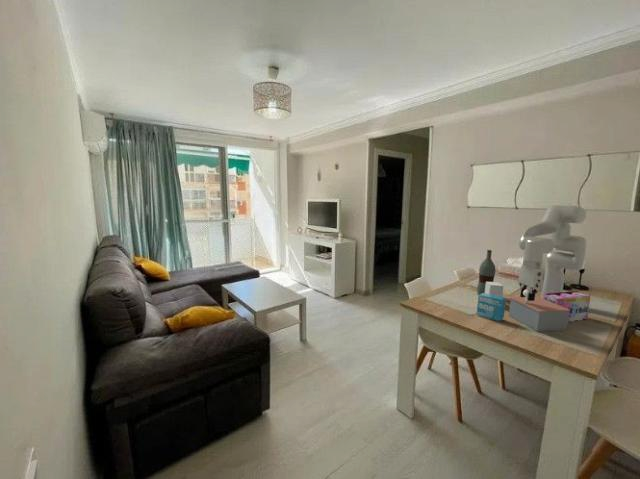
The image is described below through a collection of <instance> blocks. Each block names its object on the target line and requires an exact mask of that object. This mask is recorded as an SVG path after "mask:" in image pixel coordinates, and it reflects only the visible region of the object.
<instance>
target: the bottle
mask: <svg viewBox="0 0 640 479" xmlns="http://www.w3.org/2000/svg"><path fill="white" fill-rule="evenodd" d="M478 268H479V270H478V274H479V276H478V283H477V285H476V286H477V287H476V292H477V295H478V296H479V295H481V294H482V293H485V285H486V282H494V281H495V276H496V265H495V263H494V262H493V260H492V250H491V249H487V252H486V258H485V259H484V260H483V261H482V262H481V263H480V265H479V267H478Z"/></svg>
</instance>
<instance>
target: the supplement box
mask: <svg viewBox="0 0 640 479" xmlns="http://www.w3.org/2000/svg"><path fill="white" fill-rule="evenodd" d="M485 294H489V295H494V296H498V297H503V294H504V285H502V284H501V283H500V282H498V281H496V282H495V281H493V282H486V285H485Z"/></svg>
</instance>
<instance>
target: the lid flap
mask: <svg viewBox="0 0 640 479" xmlns="http://www.w3.org/2000/svg"><path fill="white" fill-rule="evenodd" d="M529 293H530V288H529V289H528V288H527V289H526V290H524V291H523V295H524V296H525V297H520V296H510V300H511V299H513V300H515V301H517V302H519V303H521V304H523V305H525V306H527V307H529V308H531V309H533V310H535V311H537V312H564V311H570V310H569V309H566V308H564V307H562V306H559V305H557V304H555V303H552V302H550V301H548V300H545V299H543V298H541V297H539V296H537V295H535V300H534V301H528V294H529Z"/></svg>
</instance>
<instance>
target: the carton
mask: <svg viewBox="0 0 640 479" xmlns="http://www.w3.org/2000/svg"><path fill="white" fill-rule="evenodd" d="M569 312H570V311H564V312H537V311H535V310H533V309H531V308H529V307H527V306H525V305H523V304H521V303H519V302H517V301H515V300H513V299H511V298H510V303H509V311H508V316H509V317H510V318H512V319H514V320H516V321H517V322H519V323H520V324H522V325H524V326H526V327H527V328H528V329H531V330H533V331H534V332H541V333H542V332H559V331H560V332H562V331H561V330H565V331H567V329H568V328H567V327H568V325H569V324H568V323H569V322H568V318H569Z"/></svg>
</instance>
